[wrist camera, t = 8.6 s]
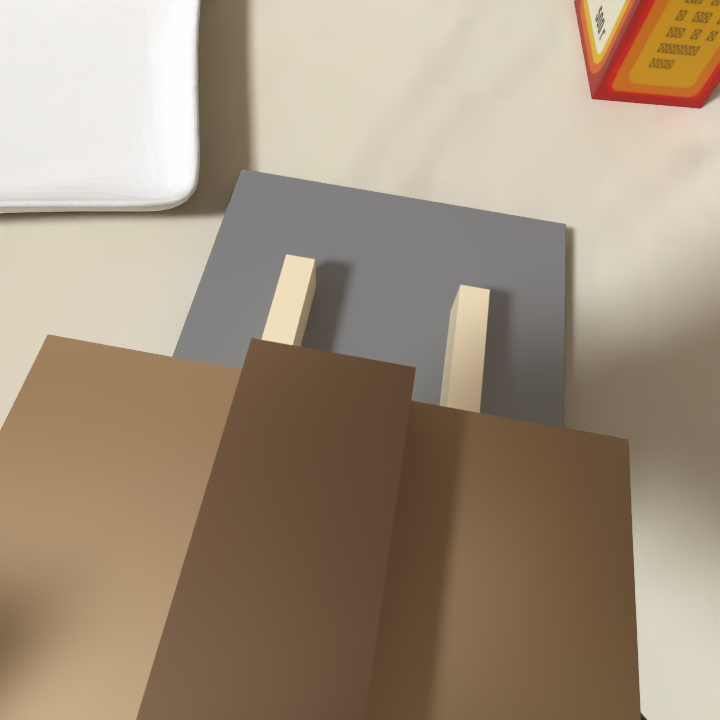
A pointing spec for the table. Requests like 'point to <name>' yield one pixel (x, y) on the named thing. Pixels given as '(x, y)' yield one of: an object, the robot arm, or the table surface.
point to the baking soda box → (651, 50)
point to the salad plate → (98, 104)
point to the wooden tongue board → (303, 547)
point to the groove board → (390, 291)
